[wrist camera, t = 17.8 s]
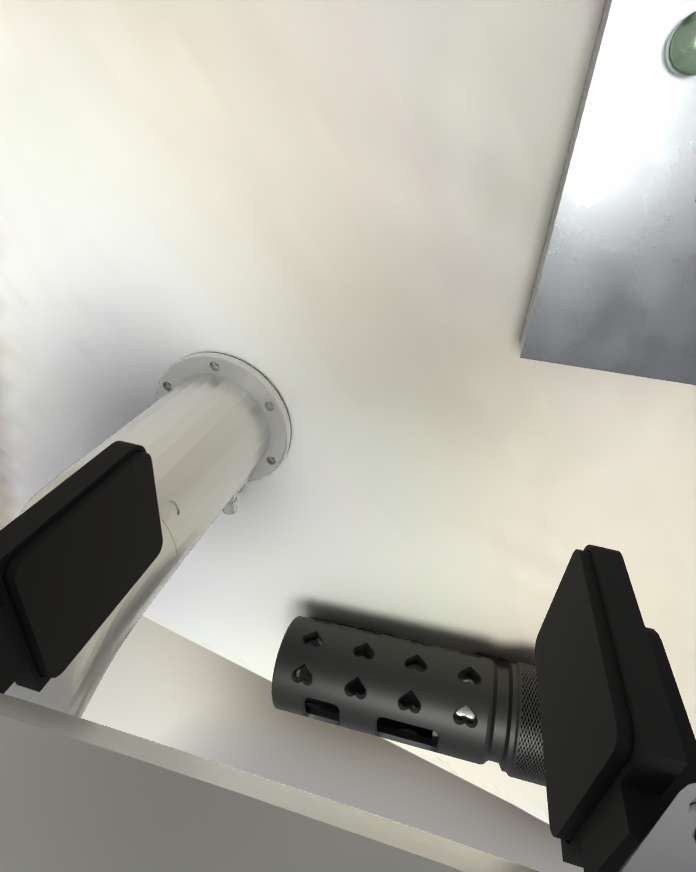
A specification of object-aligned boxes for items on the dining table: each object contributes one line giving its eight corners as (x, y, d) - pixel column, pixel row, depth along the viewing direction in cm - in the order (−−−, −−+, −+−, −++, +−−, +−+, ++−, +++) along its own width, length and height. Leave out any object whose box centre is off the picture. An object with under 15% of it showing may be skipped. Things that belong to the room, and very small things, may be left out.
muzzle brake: (304, 587, 54) (265, 673, 46) (584, 646, 47) (599, 759, 39) (309, 644, 59) (275, 731, 51) (564, 704, 52) (573, 816, 44)
